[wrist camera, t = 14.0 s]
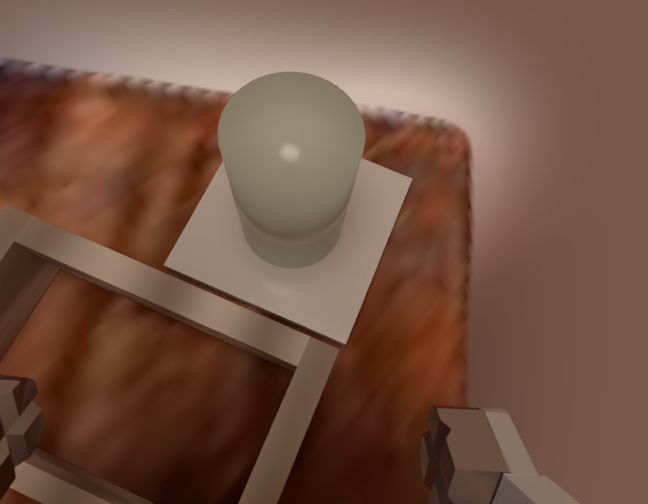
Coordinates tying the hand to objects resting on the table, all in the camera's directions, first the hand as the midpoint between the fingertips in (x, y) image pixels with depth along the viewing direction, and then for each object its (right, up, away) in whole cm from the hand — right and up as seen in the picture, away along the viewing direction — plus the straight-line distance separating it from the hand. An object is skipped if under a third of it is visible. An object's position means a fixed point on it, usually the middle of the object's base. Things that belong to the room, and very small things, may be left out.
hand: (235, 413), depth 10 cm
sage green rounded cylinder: (0, +5, +20) cm, 21 cm away
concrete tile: (0, +5, +21) cm, 22 cm away
